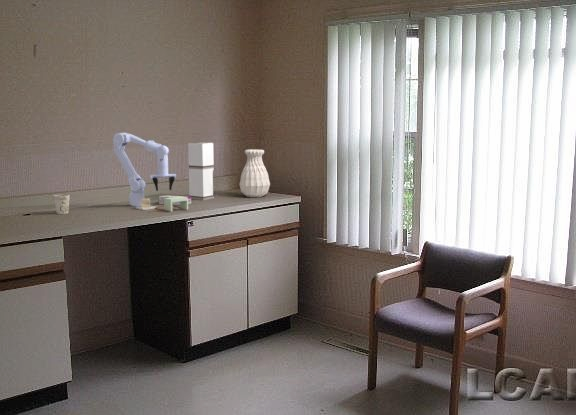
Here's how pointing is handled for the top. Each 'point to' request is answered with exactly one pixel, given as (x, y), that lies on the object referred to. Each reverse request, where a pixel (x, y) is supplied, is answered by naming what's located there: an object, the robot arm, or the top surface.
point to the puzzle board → (162, 209)
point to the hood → (175, 199)
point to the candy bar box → (161, 201)
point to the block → (145, 203)
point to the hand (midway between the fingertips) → (163, 190)
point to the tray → (145, 208)
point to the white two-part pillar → (201, 170)
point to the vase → (254, 175)
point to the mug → (62, 203)
